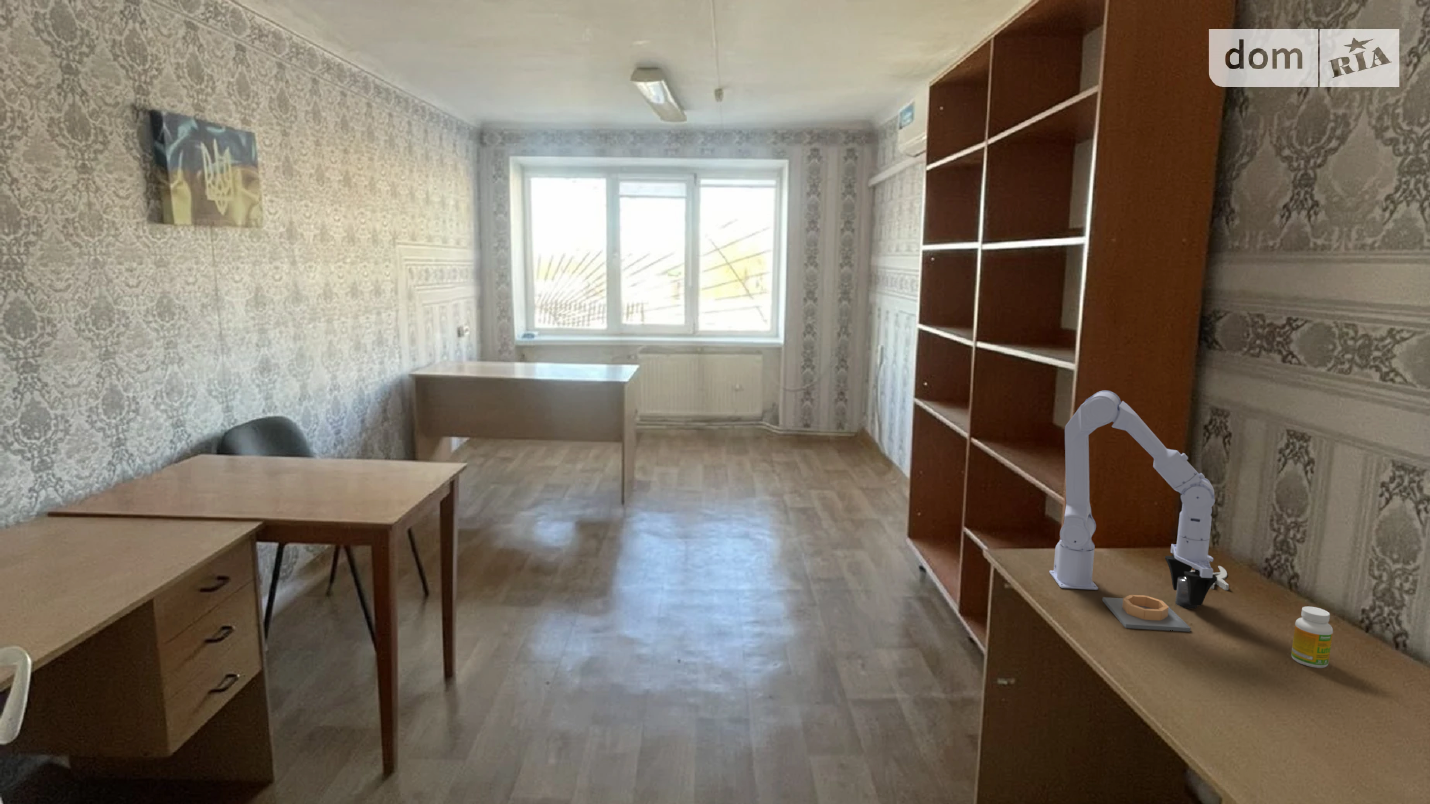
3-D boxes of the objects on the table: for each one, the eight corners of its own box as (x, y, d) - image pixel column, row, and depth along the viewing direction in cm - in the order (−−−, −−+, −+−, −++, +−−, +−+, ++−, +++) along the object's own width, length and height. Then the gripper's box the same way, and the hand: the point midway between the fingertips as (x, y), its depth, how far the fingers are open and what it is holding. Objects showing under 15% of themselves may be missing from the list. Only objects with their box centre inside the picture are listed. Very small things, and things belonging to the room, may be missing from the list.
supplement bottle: (1318, 671, 136) (1325, 619, 135) (1284, 658, 141) (1291, 608, 139) (1334, 664, 139) (1341, 613, 137) (1300, 651, 143) (1307, 602, 142)
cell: (1172, 600, 166) (1174, 573, 165) (1191, 601, 165) (1194, 574, 164) (1180, 608, 162) (1183, 581, 161) (1200, 609, 161) (1203, 582, 160)
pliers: (1222, 562, 184) (1245, 586, 170) (1221, 568, 184) (1244, 593, 170) (1175, 558, 187) (1195, 581, 173) (1175, 564, 187) (1194, 588, 173)
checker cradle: (1102, 600, 166) (1103, 588, 165) (1162, 604, 164) (1163, 591, 163) (1125, 627, 153) (1126, 614, 152) (1190, 631, 151) (1191, 618, 151)
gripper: (1232, 549, 154) (1224, 613, 156) (1197, 525, 168) (1191, 584, 170) (1193, 547, 155) (1187, 611, 157) (1163, 524, 169) (1157, 583, 171)
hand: (1187, 597), depth 163 cm, fingers open, 7 cm apart
